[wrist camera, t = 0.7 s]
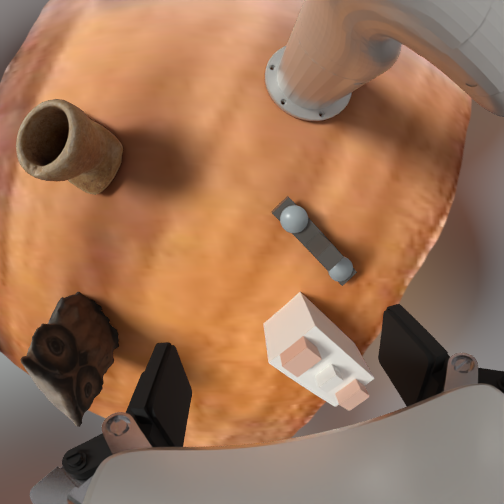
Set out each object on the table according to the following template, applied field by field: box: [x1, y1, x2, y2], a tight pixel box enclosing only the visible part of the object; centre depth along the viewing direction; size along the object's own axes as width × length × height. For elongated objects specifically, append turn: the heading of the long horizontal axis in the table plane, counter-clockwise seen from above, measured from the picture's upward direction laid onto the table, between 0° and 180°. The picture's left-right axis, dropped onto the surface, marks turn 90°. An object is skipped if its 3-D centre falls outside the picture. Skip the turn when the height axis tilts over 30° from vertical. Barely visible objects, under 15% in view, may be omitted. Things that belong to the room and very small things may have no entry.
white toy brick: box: [264, 292, 374, 411], centre depth 39 cm, size 8×16×12 cm, turn 45°
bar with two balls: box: [272, 196, 357, 286], centre depth 35 cm, size 4×15×9 cm, turn 45°
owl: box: [21, 292, 119, 426], centre depth 34 cm, size 13×13×20 cm
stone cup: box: [16, 99, 123, 195], centre depth 27 cm, size 15×12×15 cm
